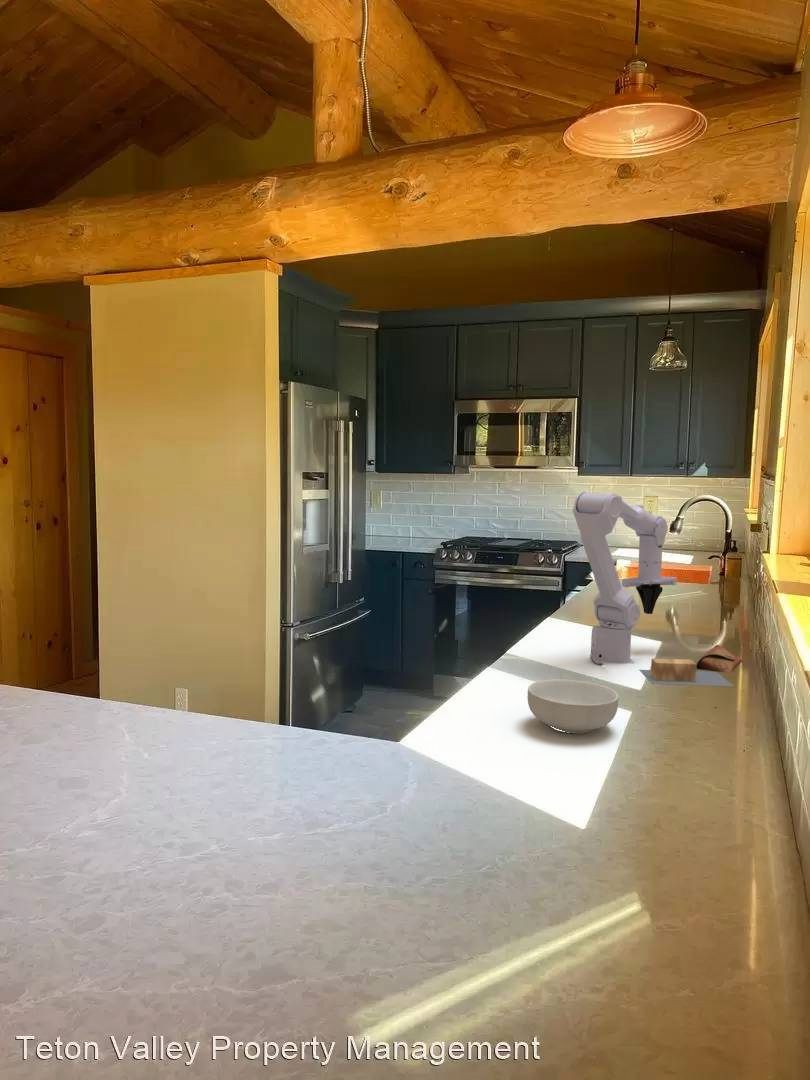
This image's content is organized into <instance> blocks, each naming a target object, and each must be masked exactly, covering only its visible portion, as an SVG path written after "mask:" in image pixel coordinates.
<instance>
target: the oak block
mask: <svg viewBox="0 0 810 1080" xmlns="http://www.w3.org/2000/svg"><path fill="white" fill-rule="evenodd" d="M650 670H651V676H652V677H653V678H654V679H655V680H661V681H696V671H697V663H696V662H694V660H692V659H684V658H683V659H681V658H680V659H678V658H677V659H676V658H651V663H650Z"/></svg>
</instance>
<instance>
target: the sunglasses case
mask: <svg viewBox="0 0 810 1080" xmlns="http://www.w3.org/2000/svg"><path fill="white" fill-rule="evenodd" d="M744 661H745V659H743V658H742V657H740V656H739V655H735V654H733V653H731V652H730V651H728V650H727V649H726V648H724V647H723V646H721V645H720V644H716V645H714V647H713V648H710V649H709V650H708V651H707V652H706V653H705V654H704V655H703V656H702V657H700V659H699V660H698V662H697V663H696V664H697V668H696V670H701V671H702V670H703V671H708V672H717V673H729V674H730V673H733V672H734V671H735V669H736V668H737V667H738V666H739V665H740V664H741V663H742V662H744Z"/></svg>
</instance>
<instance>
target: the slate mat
mask: <svg viewBox="0 0 810 1080" xmlns="http://www.w3.org/2000/svg"><path fill="white" fill-rule="evenodd" d="M639 672H641V674H642V675H643V676H644V677H645V678H646V679H647V680H648V682H650V683H651V685H671V686H700V687H701V686H704V687H705V686H707V687H708V686H709V687H734V684H732V683H731V682H730V681H728V680H727V679H726V678H725V677H723V676H722V675H721V674H719V672H716V671H702V670H701V671H699V670H698V671H697V670H696V681H661V680H655V679H654V678H653V677H652V676H651V669H639Z"/></svg>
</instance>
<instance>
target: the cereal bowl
mask: <svg viewBox="0 0 810 1080" xmlns="http://www.w3.org/2000/svg"><path fill="white" fill-rule="evenodd" d="M619 700H620V699H619V694H618V693H617V692H616V691H615V690H613V688H611V687H608V686H605V685H601V684H598V683H593V682H589V681H582V680H577V679H576V680H575V679H544V680H538V681H534V682H533V683H531V684H529V686H528V687H527V704H528V708H529V710H530V711H531V713H532V715H534V717H535V718H536V719H538V720H539V721H540V722H543V723H544V724H546V725H547V726H549V725H550V726H552V727H554V728H556V729H559V730H562V731H565V732H569V733H568V734H570V733H574V734H573V735H579V734H581V733H582V734H587V733H589V732H591V731H593V730H597V729H600V728H602V727H603V728H604V726H607V725H608V724H610V722H612V720H614V718H615V716H616V714H617V712H618V709H619V708H618V707H619ZM550 726H549V727H550Z"/></svg>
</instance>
